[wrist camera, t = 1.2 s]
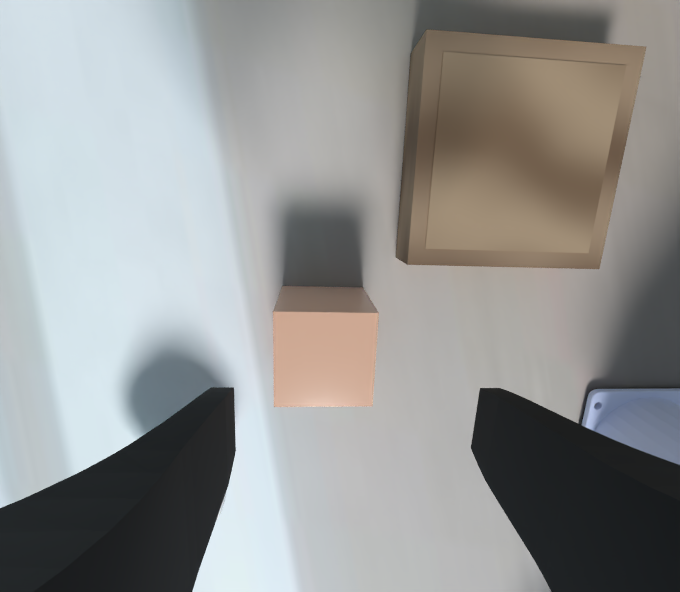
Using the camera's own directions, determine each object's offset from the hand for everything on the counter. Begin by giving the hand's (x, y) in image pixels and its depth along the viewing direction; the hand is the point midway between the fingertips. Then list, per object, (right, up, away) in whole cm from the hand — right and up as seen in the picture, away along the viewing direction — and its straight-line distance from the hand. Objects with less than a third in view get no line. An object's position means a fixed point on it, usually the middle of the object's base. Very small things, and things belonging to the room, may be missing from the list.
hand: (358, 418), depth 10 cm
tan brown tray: (+8, +11, +9) cm, 16 cm away
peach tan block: (-2, +2, +10) cm, 11 cm away
